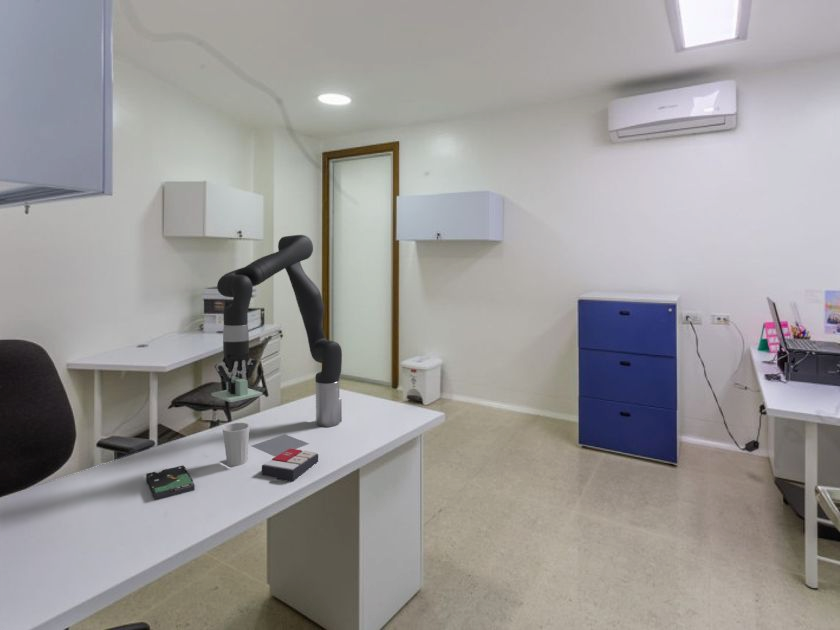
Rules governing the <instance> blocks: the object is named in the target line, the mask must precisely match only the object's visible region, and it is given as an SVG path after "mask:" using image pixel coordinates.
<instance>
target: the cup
mask: <svg viewBox="0 0 840 630" xmlns="http://www.w3.org/2000/svg"><path fill="white" fill-rule="evenodd" d="M222 434H223V440H224V441H223V442H224V449H225V450H224V451H225V456H226V464H227V467H228V468H229V467H230V468H231V467H236V466H237V467H238V466H243V465H245V464H246V463H248V461H249V456H248V455H249V439H250V437H249V436H250V424H249V423H247V422H232V423H229V424H226V425H224V426H222Z"/></svg>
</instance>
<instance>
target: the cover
mask: <svg viewBox="0 0 840 630" xmlns="http://www.w3.org/2000/svg"><path fill="white" fill-rule="evenodd" d="M225 382H226V381H225ZM234 383H235V394H230V392H229V391H228V382H226V389H225V390H221V391H220V390H219V391H214V392H211V397H214V398H218V399H220V400H223V401H225V402H228V403H235V402H237V401H238V402H239V401H243V400H247V399H252V398H256V397H261V396H263V391H262V392H261V391H259V390H256V389H251V388H249V386H248V385H249V384H248V380H247V379H246V380H245V379H241V378H239V377H238V376H235V382H234Z"/></svg>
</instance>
